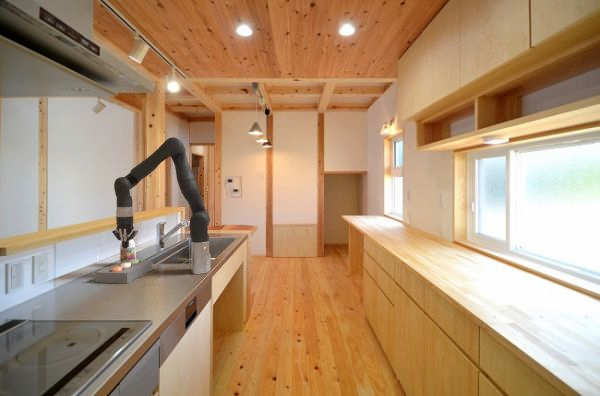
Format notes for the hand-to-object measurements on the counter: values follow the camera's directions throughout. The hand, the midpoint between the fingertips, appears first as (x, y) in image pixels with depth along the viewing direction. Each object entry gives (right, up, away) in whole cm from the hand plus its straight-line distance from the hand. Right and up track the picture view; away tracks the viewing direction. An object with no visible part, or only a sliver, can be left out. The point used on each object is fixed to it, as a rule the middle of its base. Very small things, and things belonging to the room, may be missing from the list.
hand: (125, 248), depth 141 cm
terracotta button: (0, -13, -6) cm, 14 cm away
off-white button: (0, -12, +1) cm, 12 cm away
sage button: (0, -12, +7) cm, 14 cm away
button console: (0, -15, +1) cm, 15 cm away
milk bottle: (-10, -14, +19) cm, 25 cm away
